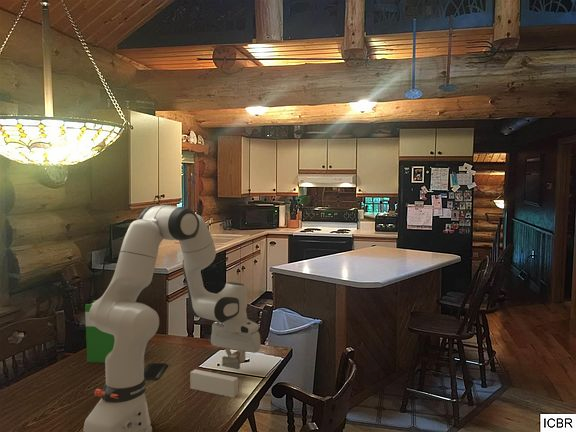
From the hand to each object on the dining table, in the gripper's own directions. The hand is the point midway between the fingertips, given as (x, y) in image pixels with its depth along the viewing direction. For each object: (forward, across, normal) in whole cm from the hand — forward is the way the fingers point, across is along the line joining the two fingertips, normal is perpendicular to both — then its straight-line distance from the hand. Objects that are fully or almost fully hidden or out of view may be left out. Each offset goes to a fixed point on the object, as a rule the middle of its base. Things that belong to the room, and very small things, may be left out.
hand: (235, 360), depth 186 cm
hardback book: (+7, -56, -6) cm, 57 cm away
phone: (+7, -31, -10) cm, 33 cm away
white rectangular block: (+6, 0, -12) cm, 13 cm away
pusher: (+2, 0, +1) cm, 2 cm away
